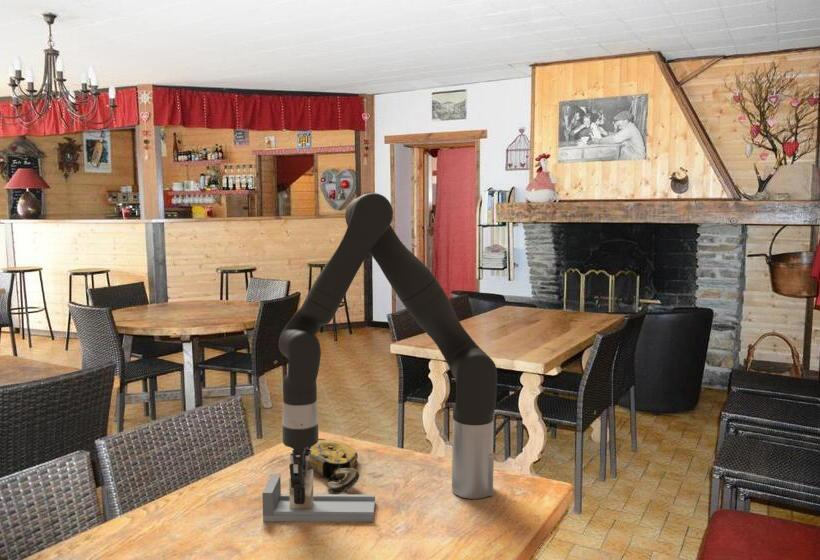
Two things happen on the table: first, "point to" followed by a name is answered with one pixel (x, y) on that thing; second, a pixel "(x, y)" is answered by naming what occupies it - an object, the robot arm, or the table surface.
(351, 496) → the rail
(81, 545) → the table surface
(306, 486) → the block
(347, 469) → the pulley block
